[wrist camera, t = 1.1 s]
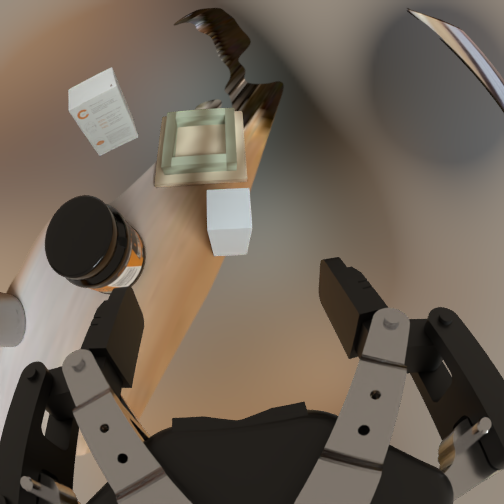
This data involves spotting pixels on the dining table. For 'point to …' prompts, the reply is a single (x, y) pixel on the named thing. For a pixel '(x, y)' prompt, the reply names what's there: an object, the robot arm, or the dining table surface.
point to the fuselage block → (229, 221)
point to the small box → (102, 112)
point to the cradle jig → (201, 148)
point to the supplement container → (94, 245)
